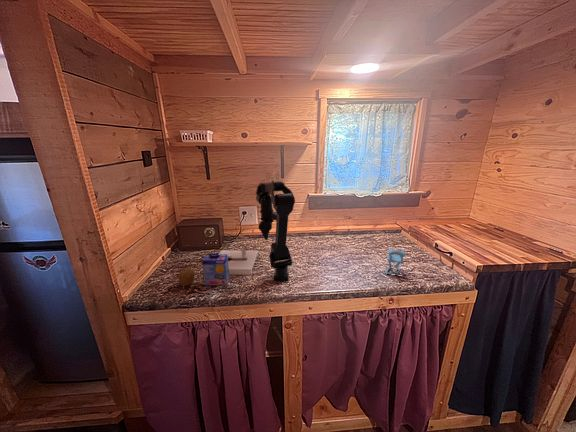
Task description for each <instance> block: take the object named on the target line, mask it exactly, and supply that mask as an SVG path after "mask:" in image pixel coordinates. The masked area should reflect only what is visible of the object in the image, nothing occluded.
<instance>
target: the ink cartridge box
mask: <svg viewBox="0 0 576 432" xmlns="http://www.w3.org/2000/svg"><path fill="white" fill-rule="evenodd" d="M228 262H229V258H228V255H227V254H220V255H219V253H209V254H205V255H204V257H202V259H201V265H202V271H203V272H202V273H203V281H204V286H219V285H220V286H226V285H228V284H229V282H230V274H229V266H228Z"/></svg>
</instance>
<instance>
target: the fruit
mask: <svg viewBox="0 0 576 432" xmlns="http://www.w3.org/2000/svg"><path fill="white" fill-rule="evenodd" d="M194 280H195V273H194V271H193V270H192V269H191V268H189V267H188V268H183V269H181V270H180V271H179V272H178V281H179V283H180V285H181V286H183V287H188V286H190V285H192V284H193V282H194Z"/></svg>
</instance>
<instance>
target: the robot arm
mask: <svg viewBox="0 0 576 432" xmlns="http://www.w3.org/2000/svg"><path fill="white" fill-rule="evenodd" d="M275 192H282V193H277V194H275ZM255 196H256V197H255V200H256V202H257V203H258V204H259V205H260V210H259V212H260V222H259V223H258V229H259V231H260V232H261V234H262V236H263V238H264V240H265V241H268V239H269V234H270V232H271V230H272V229H273V222H274V221H275V222H276V225H275V241H274V242H272V243H271V244H270V251H269V254H268V255H269V256H268V257H269V261H270V268H271V269H273V270H274V276H273V281H274V282H288V281H289V279H290V278H289V277H290V276H289V275H290V272H289V271H288V270H289V268H288V267H290V266H292V265H293V260H292V255H291V253H290V249H289V248H288V246H287V238H288V237H287V236H288V227H289V226H288V223H289V216H290V214H291V213H292V212H293V210H294V206H295V204H296V199H295V196H294V194H293V191H292V190H291V189H290V188H288V186H286V185H285V182H284V181H273V182H259V183H258V185H257V188H256V191H255Z"/></svg>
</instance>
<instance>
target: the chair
mask: <svg viewBox="0 0 576 432" xmlns="http://www.w3.org/2000/svg"><path fill="white" fill-rule="evenodd" d="M405 255H406V250H404V249H400V250H397V249H395V250H393V249H392V247H389V248H388V254H387V261H388V262H387V263H388V265H389V266H388V267H387V268H386V269H385V272H384V274H385V273H387V274H395V275H401V274H402V276H403V277H404V273H403V272H402V271H401V270H400V269H399V266H400V264H401V265H402V264H404V263H405V261H404V258H405ZM392 263H397V264H395V266H394V269H395V268H396V269H397V270H398V271H399V272H400V273H401V274H399V273H395V272H394V273H393V272H390V270H391V269H392ZM390 268H391V269H390ZM389 269H390V270H389ZM396 269H395V270H396ZM388 270H389V272H388Z"/></svg>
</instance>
